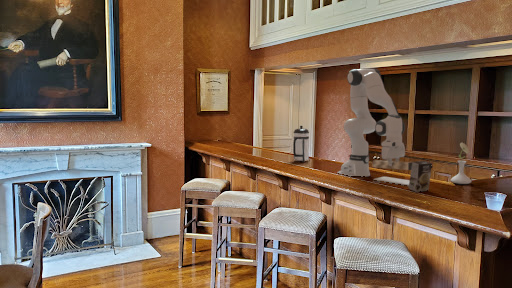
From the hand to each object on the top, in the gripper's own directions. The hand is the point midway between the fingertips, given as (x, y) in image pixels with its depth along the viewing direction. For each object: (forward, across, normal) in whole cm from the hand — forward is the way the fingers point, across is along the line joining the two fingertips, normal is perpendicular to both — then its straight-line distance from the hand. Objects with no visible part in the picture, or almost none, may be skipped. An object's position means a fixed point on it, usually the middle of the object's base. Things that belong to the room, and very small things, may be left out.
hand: (393, 165), depth 244 cm
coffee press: (+12, -30, -102) cm, 107 cm away
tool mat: (+12, -12, -2) cm, 17 cm away
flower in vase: (+13, -37, +24) cm, 46 cm away
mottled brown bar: (+2, 0, 0) cm, 2 cm away
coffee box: (+12, 0, +16) cm, 20 cm away
